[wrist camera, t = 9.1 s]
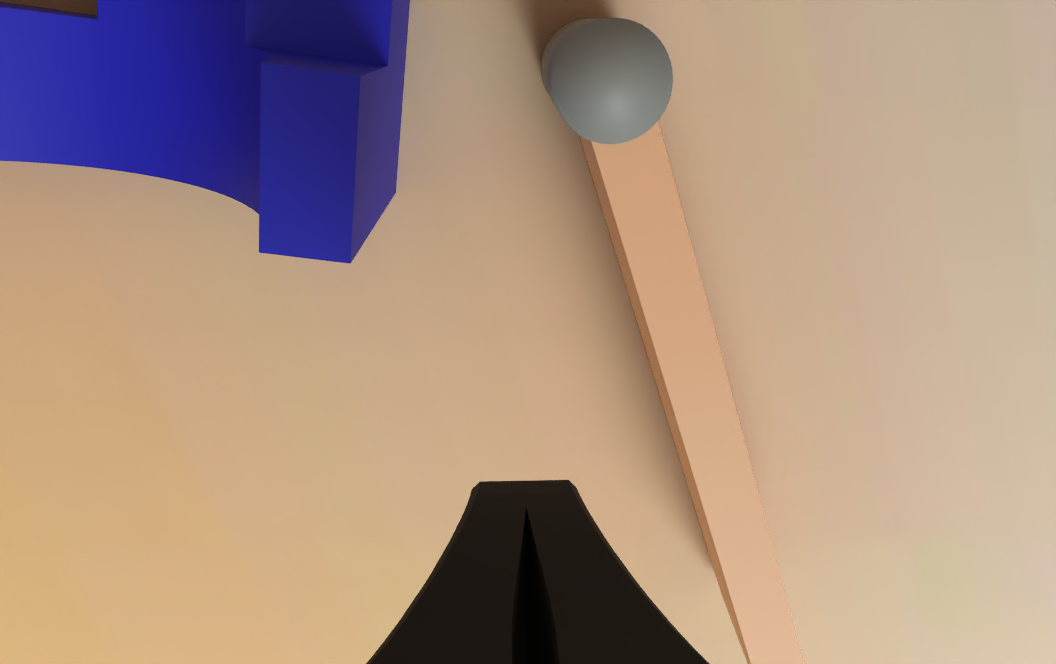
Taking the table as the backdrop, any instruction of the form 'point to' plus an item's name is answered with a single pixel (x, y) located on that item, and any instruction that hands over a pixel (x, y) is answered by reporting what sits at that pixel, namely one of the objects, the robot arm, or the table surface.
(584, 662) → the robot arm
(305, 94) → the blue pipe saddle
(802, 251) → the table surface
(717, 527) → the bar
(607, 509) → the table surface
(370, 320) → the table surface
